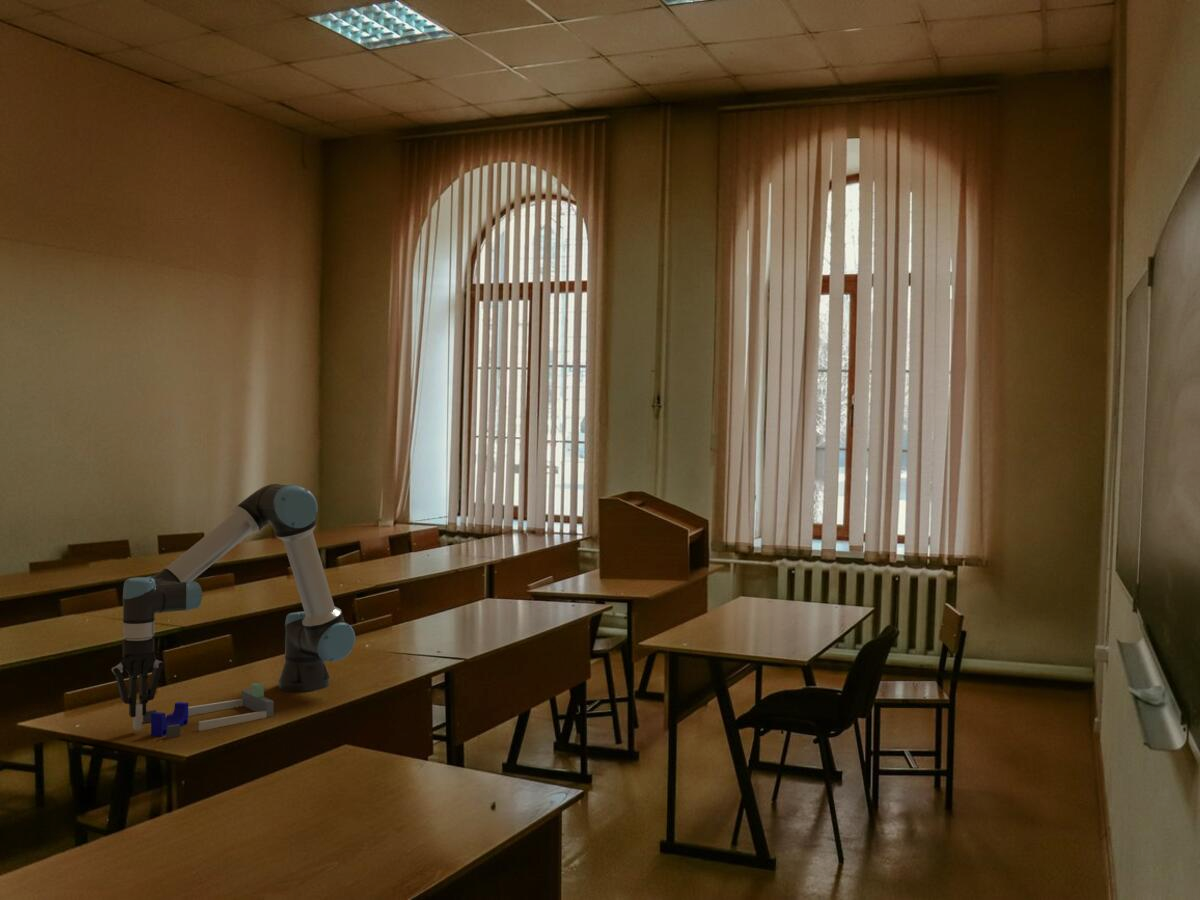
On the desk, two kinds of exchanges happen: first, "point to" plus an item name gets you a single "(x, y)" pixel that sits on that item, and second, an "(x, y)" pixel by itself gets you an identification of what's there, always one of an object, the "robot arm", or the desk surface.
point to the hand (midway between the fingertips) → (137, 728)
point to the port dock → (249, 699)
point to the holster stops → (171, 730)
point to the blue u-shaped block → (169, 719)
